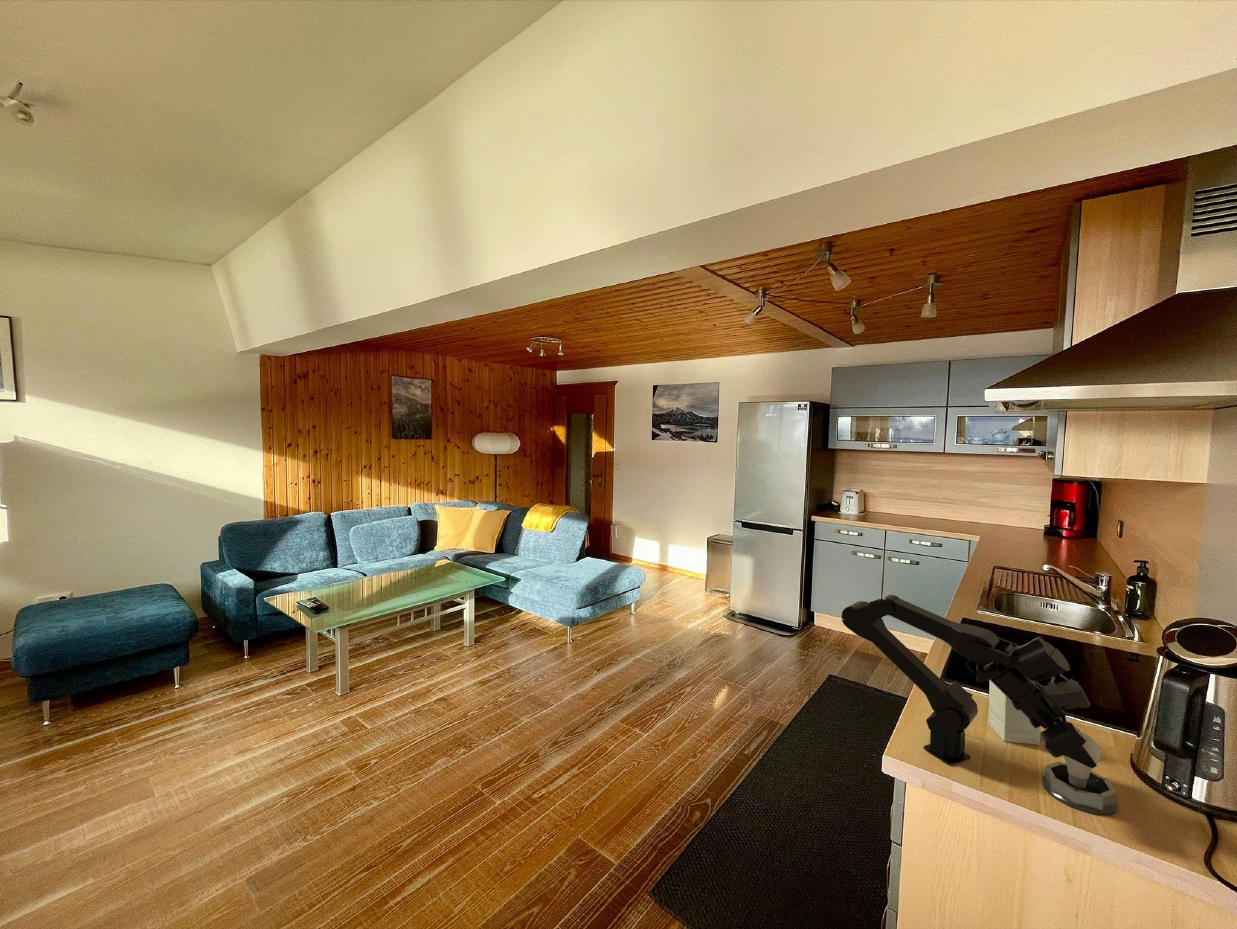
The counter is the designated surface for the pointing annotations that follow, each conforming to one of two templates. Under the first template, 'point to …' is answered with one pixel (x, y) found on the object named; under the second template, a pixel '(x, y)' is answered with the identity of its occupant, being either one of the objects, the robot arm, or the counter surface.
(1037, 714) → the robot arm
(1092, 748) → the lightbulb
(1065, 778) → the collar
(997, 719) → the supplement box
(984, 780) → the counter surface
